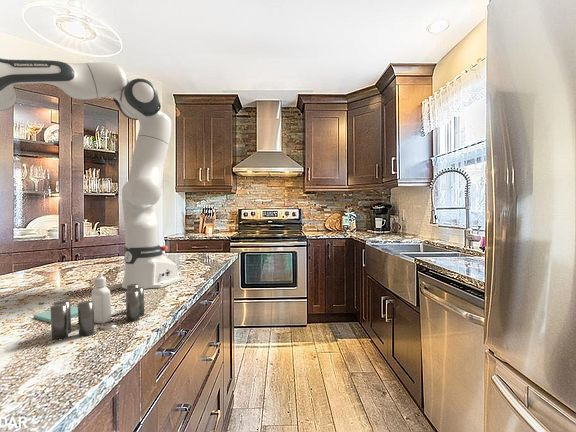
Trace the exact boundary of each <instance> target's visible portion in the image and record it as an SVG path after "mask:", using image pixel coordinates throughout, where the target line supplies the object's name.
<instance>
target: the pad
mask: <svg viewBox="0 0 576 432" xmlns="http://www.w3.org/2000/svg"><path fill="white" fill-rule="evenodd" d="M70 309H71V319H72V318H76V317H78V306H73V305H70ZM33 319H36V320H40V321H43V322H47V323H50V324H51V310H47V311H44V312H40V313H35V314H33Z"/></svg>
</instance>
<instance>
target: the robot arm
mask: <svg viewBox="0 0 576 432" xmlns="http://www.w3.org/2000/svg"><path fill="white" fill-rule="evenodd" d="M23 84H24V85H27V84H28V85H31V84H35V85H37V84H49V85H52V86H55V87H57V88H59V89H60V90H62V91H63V92H64V93H65V94H66V95H67V96H69V97H70V98H73V99H76V100H94V99H100V98H101V99H102V98H112V99H113V101H114V103H115V105H116V107H118V109H119V110H120V111H119V112H121V114H122V115H123V116H124V117H126V118H127V119H129V120H133V121H138V123H139V130H138V133H137V136H136V139H135V140H136V141H135V145H134V149H133V152H132V158H131V163H130V164H131V165H130V171H129V175H128V181H127V182H125V183H124V185H123V187H122V189H121V200H122V211H123V220H124V237H125V240H124V241H125V245H124V246H125V247H124V248H123V251H124V252H123V254H124V256H123V257H124V265H125V267H124V274H123V275H124V276H123V278H122V284H121V289H125V290H127V285H130V284H139V287H143V288H144V290H145V289H146V290H147V289H160V288H164V287H167V286H169V285H172V284H175V283H179V282H181V281H183V280H186V278H185V277H186V276H184V275H180V274H179V269H178V266H177V264H176V263H175V262H174V261H173V260H171V259H169V258H168V257H167V256H166V255H164V252H168V250H169V246H168V245H162V246H160V245H159V244H160V243H159V240H160V239H159V223H158V217H157V214H156V213H157V212H156V206H155V205H156V204H157V202H158V201H159V200H160V198H161V196H162V188H163V187H162V186H163V181H164V171H165V170H164V169H165V164H166V159H167V155H168V151H169V147H170V143H171V142H170V141H171V136H172V127H173V126H172V124H173V123H172V119H171V118H170V117H169V116H168V115H167V114H166V113H165V112H162V111H160V110H161V109H162V108H161V107H162V106H161V103H160V98H159V94H158V91H157V88H156V87H155V85H154V84H153V83H152V82H151V81H149V80H148V79H145V78H135V79H132V80H129V79H128V78H127V75H126V72H125V71H124V69H123V68H122V67H121V66H120V65H118V64H116V63H110V62H83V63H82V62H80V63H73V62H70V63H69V62H63V61H60V60H59V61H58V60H49V59H48V60H47V59H46V60H44V59H5V58H0V111H5V110H6V111H7V110H9V109H11V108H12V107H14V105H15V104H16V102H17V99H18V98H17V94H16V91H15V89H14V88H15V87H13V86H14V85H23Z"/></svg>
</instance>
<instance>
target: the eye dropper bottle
mask: <svg viewBox="0 0 576 432" xmlns="http://www.w3.org/2000/svg"><path fill="white" fill-rule="evenodd" d="M90 295H91V301H93V304H94V324H95V323H96V324H101V325H104V324H107V323H111V321H112V300H111V290H110V288H108V287H107V277H104V275H103V273H102V272H98V275H97V277H95V279H94V288H93V289H92V290H91V294H90Z"/></svg>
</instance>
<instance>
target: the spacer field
mask: <svg viewBox="0 0 576 432" xmlns="http://www.w3.org/2000/svg"><path fill="white" fill-rule="evenodd" d="M53 304H54V305H50V308H49V309H50V311H51V323H50V329H51V332H50V333H51V341H54V340H57V341H60V340H59V339H62V340H65V339H68V337H69V334H71V333H72V318H71V309H70V306H71V300H67V299H65V300H64V299H63V300H58V301H55V302H53ZM77 307H78V316H77V318H78V321H77V322H78V326H77V327H78V336H79V337H82V336H83V337H89V336H92V335H94V334H95V322H94V304H93V301H92V300H86V301H85V300H84V301H79V302H78V303H77ZM125 313H126V315H125V316H126V322H128V323H133V322H137V321H139V320H141V319H140V318H141V317H143V316H145V289H144V288H143V287H139V284H130V285H127V289H126V291H125ZM88 335H89V336H88ZM64 338H65V339H64Z"/></svg>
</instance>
